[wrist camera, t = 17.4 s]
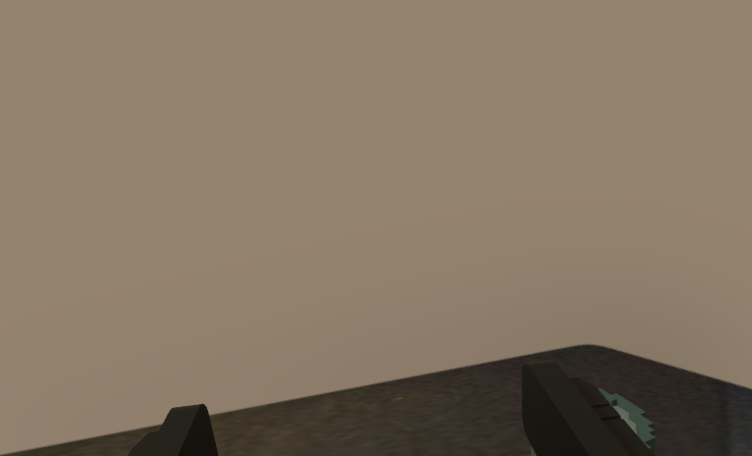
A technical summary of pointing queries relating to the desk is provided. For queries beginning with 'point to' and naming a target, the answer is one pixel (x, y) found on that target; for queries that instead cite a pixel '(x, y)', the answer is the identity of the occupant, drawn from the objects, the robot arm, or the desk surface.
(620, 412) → the can
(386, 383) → the desk surface
